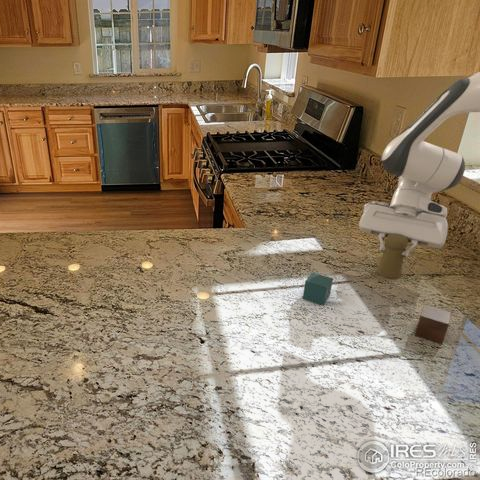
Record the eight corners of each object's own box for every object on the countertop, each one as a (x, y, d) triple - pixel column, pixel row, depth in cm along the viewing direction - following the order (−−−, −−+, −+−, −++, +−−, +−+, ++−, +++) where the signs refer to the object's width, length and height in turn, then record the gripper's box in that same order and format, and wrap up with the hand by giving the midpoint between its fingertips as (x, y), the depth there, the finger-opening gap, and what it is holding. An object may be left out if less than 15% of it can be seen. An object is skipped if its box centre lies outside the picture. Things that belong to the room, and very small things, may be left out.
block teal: (302, 298, 102) (305, 280, 100) (309, 289, 106) (312, 272, 104) (323, 305, 100) (326, 287, 97) (329, 295, 103) (333, 278, 101)
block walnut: (414, 335, 90) (420, 315, 87) (418, 323, 93) (423, 304, 91) (442, 344, 87) (449, 324, 85) (444, 331, 91) (451, 312, 88)
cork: (372, 273, 113) (381, 235, 108) (380, 265, 117) (389, 228, 112) (397, 281, 109) (407, 242, 104) (404, 272, 113) (414, 235, 108)
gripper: (366, 194, 116) (350, 239, 113) (454, 209, 105) (439, 260, 102) (366, 204, 121) (351, 248, 118) (451, 220, 110) (436, 268, 107)
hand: (393, 254), depth 110 cm, fingers closed on cork, 4 cm apart
